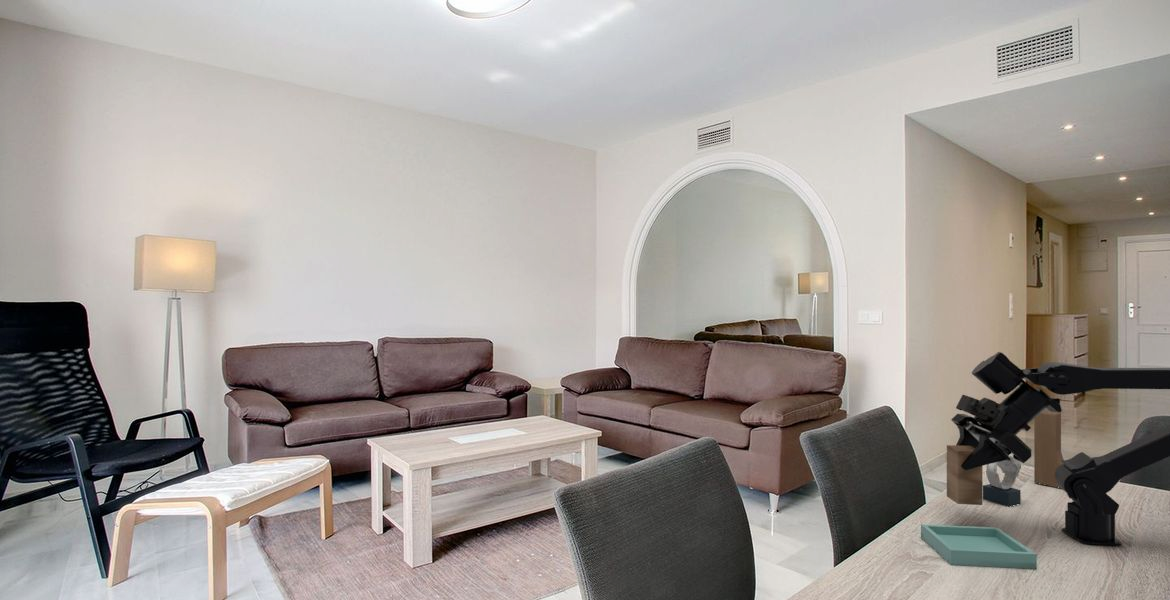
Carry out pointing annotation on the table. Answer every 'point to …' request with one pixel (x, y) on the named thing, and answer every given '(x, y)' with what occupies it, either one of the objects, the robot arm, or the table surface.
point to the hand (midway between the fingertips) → (956, 464)
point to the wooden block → (1047, 447)
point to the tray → (978, 546)
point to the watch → (1003, 483)
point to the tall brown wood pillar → (963, 477)
